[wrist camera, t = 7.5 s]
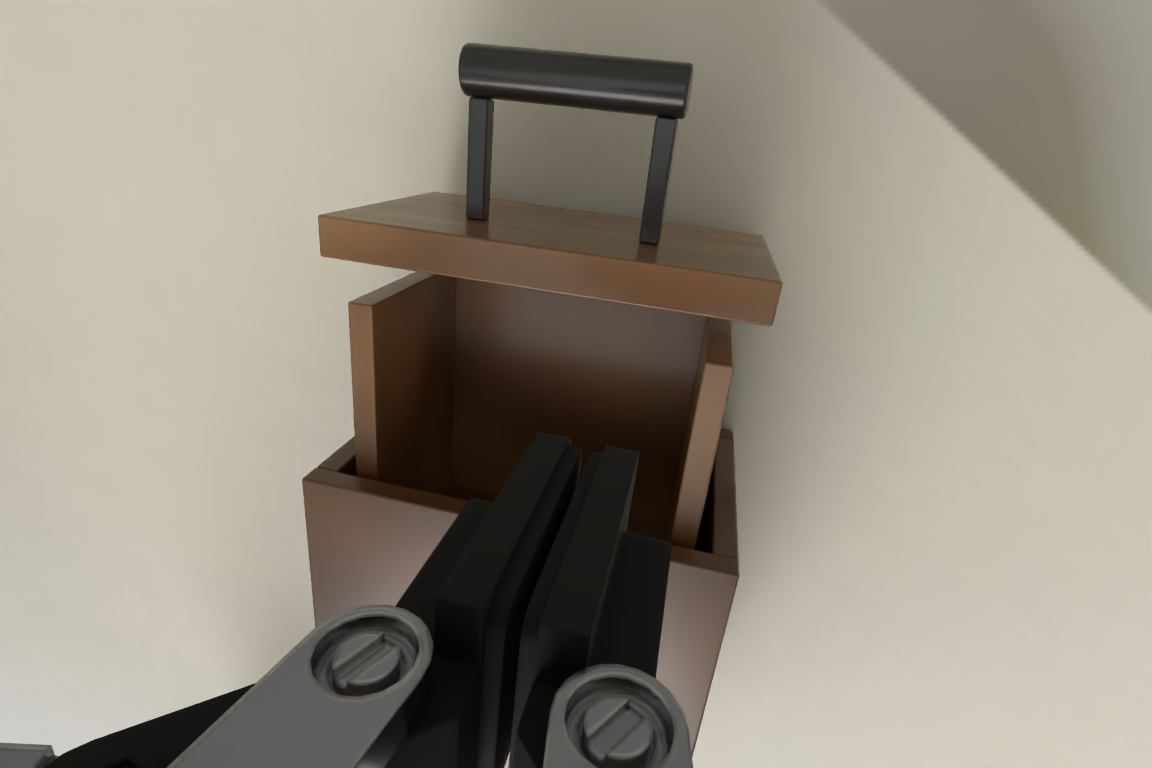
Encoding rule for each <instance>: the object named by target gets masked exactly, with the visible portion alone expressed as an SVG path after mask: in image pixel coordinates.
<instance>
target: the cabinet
mask: <svg viewBox="0 0 1152 768" xmlns="http://www.w3.org/2000/svg"><path fill="white" fill-rule="evenodd" d="M733 440H734V439H733V432H732V431H728V430H722V429H721V431H720V435H719V440H718V444H717V449H716V453H715V458H714V463H713V467H712V472H711V476H710V481H709V486H708V490H707V495H706V499H705V504H704V509H703V513H702V518H701V522H700V527H699V531H698V536H697V541H696V545H695V550H693V549H689V548H684V547H679V546H675V545H672V549H671V558H670V566H669V574H668V582H667V590H666V599H665V607H664V615H663V623H662V631H661V640H660V648H659V656H658V664H657V672H656V679H657V680H659V681H660V682H661V683H662V684H663V685H664V686H665V687H666V688H667V689H668V690H669V691H670V692H672V693H673V695H674V697H675V698H676V700H677V701H678V703H679V704H680V706H681V708H682V709H683V711H684V714H685V718H686V722H687V725H688V729H689V735H690V744H691V753H692V756H693V752H694V749H695V745H696V741H697V737H698V733H699V729H700V725H701V722H702V718H703V714H704V710H705V706H706V702H707V698H708V695H709V691H710V687H711V683H712V679H713V675H714V671H715V668H716V664H717V660H718V656H719V652H720V648H721V644H722V641H723V637H724V633H725V629H726V625H727V621H728V617H729V613H730V610H731V606H732V602H733V598H734V594H735V590H736V586H737V583H738V579H739V561H738V535H737V511H736V486H735V462H734V441H733ZM302 482H303V494H304V505H305V516H306V527H307V538H308V549H309V560H310V571H311V582H312V594H313V605H314V616H315V627H317V626H319V625H320V624H322V623H323V622H324V621H326V620H327V619H328V618H330V617H332V616H334V615H336V614H338V613H341V612H343V611H345V610H348V609H351V608H355V607H360V606H365V605H391V606H396V604H397V603H398V601H399V600H400V598H401V597H402V596H403V594H404V593H405V591H406V590H407V588H408V587H409V585H410V584H411V583H412V581H413V580H414V578H415V577H416V575H417V574H418V572H419V571H420V570H421V568H422V567H423V565H424V564H425V562H426V561H427V559H428V558H429V557H430V555H431V554H432V552H433V551H434V549H435V548H436V547H437V545H438V544H439V542H440V541H441V539H442V538H443V536H444V535H445V534H446V532H447V531H448V529H449V528H450V526H451V525H452V523H453V522H454V521H455V519H456V518H457V516H458V515H459V513H460V512H461V510H462V509H463V508H464V506H465V505H466V504H467V502H468V501H467V500H463V499H458V498H453V497H449V496H444V495H440V494H435V493H430V492H426V491H421V490H417V489H412V488H407V487H403V486H398V485H393V484H389V483H384V482H380V481H375V480H370V479H366V478H361V477H357V470H356V449H355V436H354V437H353V438H352V439H350V440H349V441H348V442H347V443H346V444H344V445H343V446H342V447H341V448H339V449H338V450H337V451H336V452H335V453H333V454H332V455H331V456H330V457H329V458H327V459H326V460H325V461H324V462H322V463H321V464H320V465H319V466H318V467H317V468H315V469H314V470H313V471H311V472H310V473H309V474H308V475H307V476H305V477H304V478H303V480H302ZM509 757H510V753H509V756H508V758H507V761H506V764H505V767H504V768H508V767H509Z"/></svg>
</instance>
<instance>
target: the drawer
mask: <svg viewBox="0 0 1152 768" xmlns="http://www.w3.org/2000/svg"><path fill="white" fill-rule="evenodd" d="M693 71H694V68H693V64H691V63H685V62H674V61H663V60H652V59H641V58H630V57H619V56H608V55H597V54H586V53H575V52H564V51H553V50H542V49H532V48H521V47H510V46H499V45H488V44H477V43H467V44H465V45H464V46H463V48H462V50H461V53H460V58H459V81H460V86H461V89H462V91H463V93H464V94H465V95H467V96H469V97H470V99H469V129H468V164H467V196H462V195H454V194H447V193H439V192H431V193H426V194H421V195H416V196H411V197H406V198H401V199H396V200H391V201H386V202H382V203H377V204H372V205H367V206H362V207H357V208H352V209H347V210H342V211H337V212H332V213H327V214H322V215H319V216H318V222H319V237H320V253H321V256H323V257H329V258H335V259H341V260H348V261H354V262H361V263H367V264H373V265H380V266H386V267H393V268H399V269H405V270H412V271H417V272H415V273H412V274H410V275H408V276H406V277H403V278H401V279H399V280H397V281H395V282H392V283H390V284H388V285H386V286H384V287H381V288H379V289H377V290H375V291H372V292H370V293H368V294H366V295H364V296H361V297H359V298H357V299H355V300H353V301H350V302H349V303H348V305H349V326H350V347H351V367H352V388H353V408H354V429H355V449H356V470H357V477H361V478H366V479H370V480H375V481H380V482H384V483H389V484H393V485H398V486H403V487H407V488H412V489H417V490H421V491H426V492H430V493H435V494H440V495H444V496H449V497H453V498H458V499H463V500H467V501H469V500H470V499H473V498H475V499H480V500H484V501H489V502H493V503H494V501H495V499H496V498H497V496H498V495H499V493H500V491H501V490H502V488H503V487H504V485H505V483H506V482H507V480H508V478H509V477H510V475H511V474H512V472H513V470H514V469H515V467H516V466H517V464H518V462H519V461H520V459H521V458H522V456H523V454H524V453H525V451H526V450H527V448H528V446H529V445H530V443H531V441H532V440H533V438H534V437H535V435H536V434H537V432H543V433H548V434H553V435H558V436H563V437H568V438H571V440H572V447H573V448H578V449H582V461H581V469H580V477H579V480H580V478H581V475H582V473H583V470H584V468H585V466H586V463H587V461H588V458H589V456H590V453H591V452H592V451H593V452H598V453H603V452H604V449H605V447H606V445H607V446H612V447H617V448H622V449H627V450H632V451H637V452H639V459H638V465H637V471H636V477H635V483H634V489H633V495H632V501H631V507H630V513H629V519H628V525H627V530H626V532H628V533H632V534H637V535H641V536H646V537H650V538H655V539H659V540H664V541H668V542H672V545H675V546H679V547H684V548H689V549H693V550H695V545H696V541H697V536H698V531H699V527H700V522H701V518H702V513H703V509H704V504H705V499H706V495H707V490H708V486H709V481H710V476H711V472H712V467H713V463H714V458H715V453H716V449H717V444H718V440H719V435H720V431H721V426H722V421H723V417H724V412H725V408H726V403H727V398H728V394H729V389H730V385H731V380H732V375H733V371H734V359H733V340H732V322H731V320H732V321H738V322H744V323H751V324H757V325H764V326H772V325H773V321H774V317H775V313H776V309H777V304H778V300H779V296H780V292H781V288H782V281H781V279H780V276H779V274H778V271H777V269H776V267H775V264H774V262H773V259H772V257H771V254H770V252H769V250H768V247H767V245H766V242H765V240H764V237H763V236H761V235H754V234H746V233H739V232H731V231H724V230H716V229H709V228H701V227H694V226H686V225H679V224H671V223H664V222H663V218H664V212H665V205H666V199H667V192H668V186H669V179H670V173H671V166H672V159H673V153H674V146H675V140H676V133H677V127H678V120H677V119H684V118H685V117H686V115H687V111H688V106H689V100H690V94H691V88H692V80H693ZM492 99H496V100H506V101H515V102H525V103H534V104H543V105H553V106H562V107H572V108H581V109H591V110H600V111H609V112H619V113H628V114H638V115H647V116H656V117H657V118H656V121H655V128H654V135H653V142H652V150H651V157H650V164H649V171H648V178H647V186H646V193H645V200H644V207H643V214H642V220H641V219H634V218H626V217H619V216H611V215H604V214H596V213H589V212H581V211H574V210H566V209H559V208H551V207H544V206H536V205H529V204H522V203H514V202H507V201H499V200H492V199H490V183H491V160H492V136H493V113H494V100H492Z"/></svg>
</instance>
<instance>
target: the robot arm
mask: <svg viewBox="0 0 1152 768" xmlns="http://www.w3.org/2000/svg"><path fill="white" fill-rule="evenodd" d="M638 459H639V452H637V451H632V450H627V449H622V448H617V447H612V446H607V445H606V447H605V449H604V452H603V453H598V452H593V451H592V452H591V453H590V456H589V458H588V461H587V463H586V466H585V468H584V470H583V473H582V475H581V478H580V480H579V477H580V469H581V461H582V449H578V448H573V447H572V440H571V438H568V437H563V436H558V435H553V434H548V433H543V432H537V434H536V435H535V437H534V438H533V440H532V441H531V443H530V445H529V446H528V448H527V450H526V451H525V453H524V454H523V456H522V458H521V459H520V461H519V462H518V464H517V466H516V467H515V469H514V470H513V472H512V474H511V475H510V477H509V478H508V480H507V482H506V483H505V485H504V487H503V488H502V490H501V491H500V493H499V495H498V496H497V498H496V499H495V501H494V503H493V502H489V501H484V500H480V499H475V498H473V499H470V500H469V501H468V502H467V504H466V505H465V506H464V508H463V509H462V510H461V512H460V513H459V515H458V516H457V518H456V519H455V521H454V522H453V523H452V525H451V526H450V528H449V529H448V531H447V532H446V534H445V535H444V536H443V538H442V539H441V541H440V542H439V544H438V545H437V547H436V548H435V549H434V551H433V552H432V554H431V555H430V557H429V558H428V559H427V561H426V562H425V564H424V565H423V567H422V568H421V570H420V571H419V572H418V574H417V575H416V577H415V578H414V580H413V581H412V583H411V584H410V585H409V587H408V588H407V590H406V591H405V593H404V594H403V596H402V597H401V598H400V600H399V601H398V603H397V604H396V606H391V605H365V606H360V607H355V608H351V609H348V610H345V611H343V612H341V613H338V614H336V615H334V616H332V617H330V618H328V619H327V620H326V621H324V622H323V623H322V624H320V625H319V626H317V627H316V628H315V629H313V630H312V631H311V632H310V633H309V634H308V635H307V636H306V637H305V638H304V639H303V640H302V641H301V642H300V643H299V644H297V645H296V646H295V647H294V648H293V649H292V650H291V651H290V652H289V653H288V654H287V655H286V656H285V657H284V658H283V659H281V660H280V661H279V662H278V663H277V664H276V665H275V666H274V667H273V668H272V669H271V670H270V671H269V672H268V673H267V674H266V675H264V676H263V677H262V678H261V679H260V680H259V681H258V682H257V683H255V684H252V685H250V686H247V687H244V688H241V689H238V690H235V691H232V692H230V693H227V694H224V695H221V696H218V697H215V698H212V699H210V700H207V701H204V702H201V703H198V704H195V705H192V706H190V707H187V708H184V709H181V710H178V711H175V712H172V713H170V714H167V715H164V716H161V717H158V718H155V719H152V720H149V721H147V722H144V723H141V724H138V725H135V726H132V727H129V728H127V729H124V730H121V731H118V732H115V733H112V734H109V735H107V736H104V737H101V738H98V739H95V740H92V741H90V742H88V743H86V744H84V745H81V746H79V747H77V748H75V749H72V750H70V751H68V752H66V753H64V754H62V755H61V756H55V754H54V752H53V749H52V746H51V745H36V744H14V743H0V768H504V767H505V764H506V761H507V758H508V756H509V753H510V757H509V767H508V768H693V762H692V753H691V744H690V735H689V729H688V725H687V722H686V718H685V714H684V711H683V709H682V708H681V706H680V704H679V703H678V701H677V700H676V698H675V697H674V695H673V693H672V692H670V691H669V690H668V689H667V688H666V687H665V686H664V685H663V684H662V683H661V682H660V681H659V680H657V679H656V672H657V664H658V656H659V648H660V640H661V631H662V623H663V615H664V607H665V599H666V590H667V582H668V574H669V566H670V558H671V549H672V542H668V541H664V540H659V539H655V538H650V537H646V536H641V535H637V534H632V533H628V532H626V530H627V525H628V519H629V513H630V507H631V501H632V495H633V489H634V483H635V477H636V471H637V465H638Z"/></svg>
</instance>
